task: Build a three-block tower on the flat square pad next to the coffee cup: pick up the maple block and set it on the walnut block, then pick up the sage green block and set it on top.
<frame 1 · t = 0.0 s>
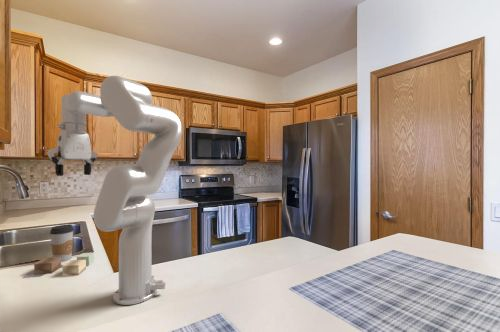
hand: (74, 175, 96), 38 cm above the counter, tool pointing down, fingers open, 9 cm apart
flat square pad: (48, 272, 100), on the counter
sage block: (85, 266, 106), on the counter
maple block: (74, 275, 98), on the counter
coffee cup: (62, 261, 112), on the counter
walnut block: (48, 270, 100), point 1 cm above the counter, touching flat square pad
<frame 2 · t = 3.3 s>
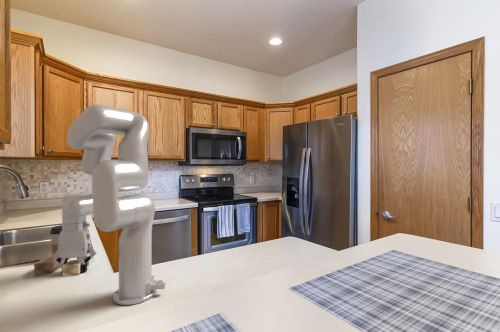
hand: (74, 273, 98), 1 cm above the counter, tool pointing down, fingers closed on maple block, 5 cm apart
maple block: (74, 275, 98), on the counter, touching gripper
everything else where it was.
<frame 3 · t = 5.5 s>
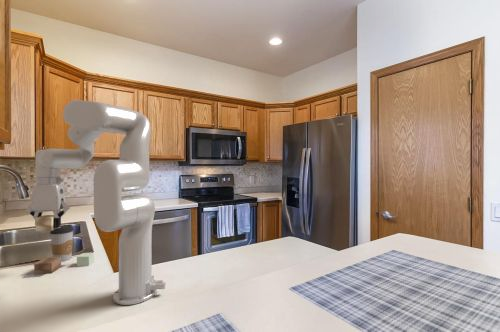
hand: (48, 227, 100), 18 cm above the counter, tool pointing down, fingers closed on maple block, 5 cm apart
maple block: (48, 229, 100), point 17 cm above the counter, touching gripper
everything else where it was.
when the fingers open (6 cm above the counter, at t = 7.9 s): maple block drops 1 cm, resting on walnut block.
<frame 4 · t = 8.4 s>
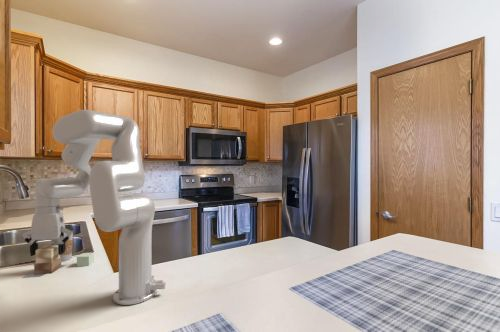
hand: (48, 254, 100), 7 cm above the counter, tool pointing down, fingers open, 9 cm apart
maple block: (48, 260, 100), point 5 cm above the counter, touching walnut block
walnut block: (48, 270, 100), point 1 cm above the counter, touching maple block, flat square pad
everything else where it was.
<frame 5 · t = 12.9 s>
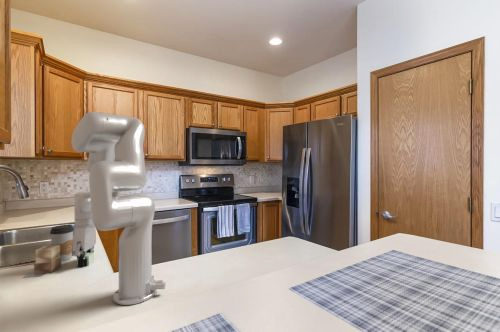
hand: (85, 265, 106), 0 cm above the counter, tool pointing down, fingers closed on sage block, 4 cm apart
sage block: (85, 266, 106), on the counter, touching gripper
everything else where it was.
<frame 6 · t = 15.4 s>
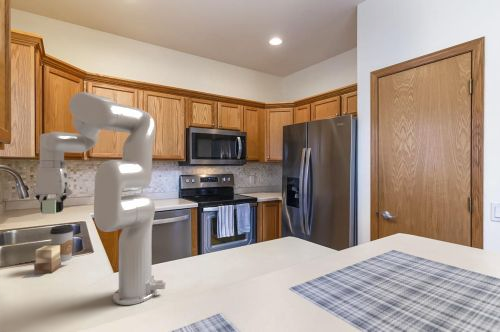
hand: (52, 211, 101), 24 cm above the counter, tool pointing down, fingers closed on sage block, 4 cm apart
sage block: (52, 212, 101), point 23 cm above the counter, touching gripper
everything else where it was.
when the fingers open (11 cm above the counter, at t = 18.1 s): sage block drops 1 cm, resting on maple block.
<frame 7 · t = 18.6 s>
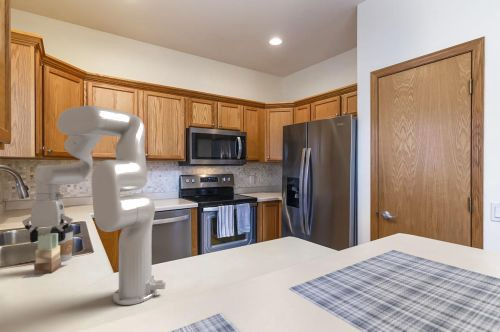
hand: (48, 241, 100), 12 cm above the counter, tool pointing down, fingers open, 9 cm apart
sage block: (48, 247, 100), point 10 cm above the counter, touching maple block
maple block: (48, 260, 100), point 5 cm above the counter, touching sage block, walnut block
everything else where it was.
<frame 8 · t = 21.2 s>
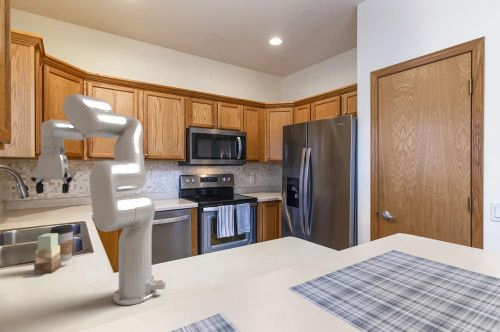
hand: (52, 193, 107), 30 cm above the counter, tool pointing down, fingers open, 9 cm apart
nothing on the counter moved.
at the end: maple block 0.1 cm off-centre on the walnut block, point 4.0 cm above the walnut block's base; sage block 0.0 cm off-centre on the maple block, point 5.0 cm above the maple block's base; sage block tilted 0° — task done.
